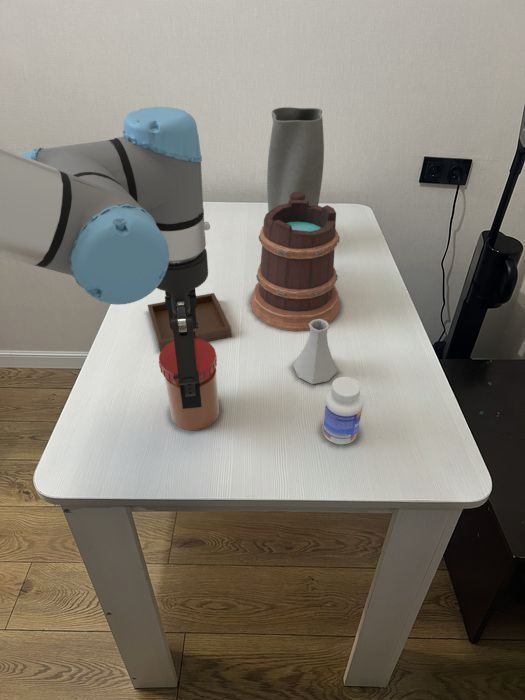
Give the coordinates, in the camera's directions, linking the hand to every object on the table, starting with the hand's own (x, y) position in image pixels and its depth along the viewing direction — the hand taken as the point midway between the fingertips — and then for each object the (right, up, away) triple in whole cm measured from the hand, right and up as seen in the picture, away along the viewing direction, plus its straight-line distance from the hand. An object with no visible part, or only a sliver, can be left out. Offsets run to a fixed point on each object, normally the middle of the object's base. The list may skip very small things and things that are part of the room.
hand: (190, 385), depth 74 cm
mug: (+18, +16, +29) cm, 38 cm away
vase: (+18, +31, +47) cm, 59 cm away
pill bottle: (+23, -7, +1) cm, 24 cm away
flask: (+20, +2, +12) cm, 23 cm away
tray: (-4, +10, +22) cm, 24 cm away
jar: (0, -5, +4) cm, 6 cm away
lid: (0, +4, -4) cm, 6 cm away
